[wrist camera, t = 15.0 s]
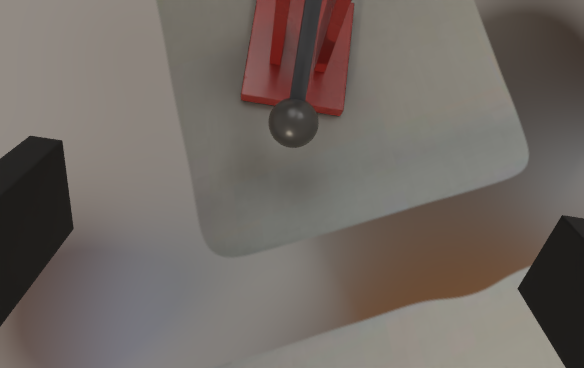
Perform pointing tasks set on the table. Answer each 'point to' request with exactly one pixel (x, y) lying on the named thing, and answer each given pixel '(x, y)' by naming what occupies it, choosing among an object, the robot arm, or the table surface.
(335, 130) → the table surface
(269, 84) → the bracket
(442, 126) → the table surface
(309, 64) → the lever
